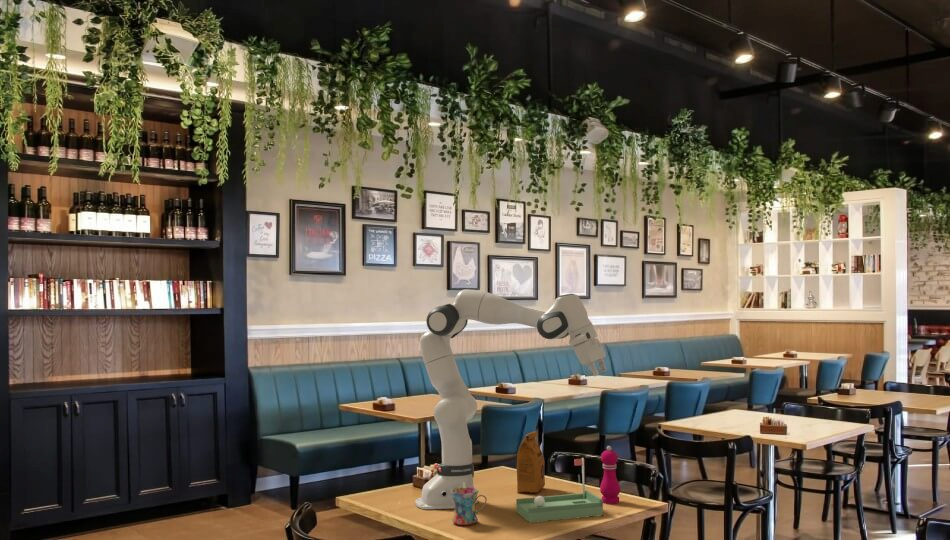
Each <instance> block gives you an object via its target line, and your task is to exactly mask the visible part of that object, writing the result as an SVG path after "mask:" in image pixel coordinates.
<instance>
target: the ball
mask: <svg viewBox="0 0 950 540" xmlns="http://www.w3.org/2000/svg"><path fill="white" fill-rule="evenodd" d="M535 497H536V498H535V499H534V503H535V505H536V506H538V507H542V506H543V505H544V503H545V500H544V498H543V497H544V496H542V495H537V496H535Z"/></svg>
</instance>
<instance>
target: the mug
mask: <svg viewBox="0 0 950 540" xmlns="http://www.w3.org/2000/svg"><path fill="white" fill-rule="evenodd" d="M450 492H451V494H452V497H453V500H454V505H455V508H454V514H453V518H452V519H451V521H452V523H453V524H456V525H459V526H460V525H461V526H469V525H473V524H476V523H477V522H478V520H479V519H478V517H477V516H478V515H479V513H478V512H479V511H480V510H482V509H483V508H484V507H485V506H486V503H487V496H485V495H484V494H480V495H478V493H479V489H477V488H475V487H474V488H468V487H464V488H455V489H452V490H451V491H450ZM480 497H483V498H484V503H483V505H482V506H481V507H480V508H478V509H476V503H475V501H477V502H478V498H480Z"/></svg>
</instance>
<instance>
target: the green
mask: <svg viewBox="0 0 950 540" xmlns="http://www.w3.org/2000/svg"><path fill="white" fill-rule="evenodd" d="M573 462H574V464H573V465H574V466H575V467H576V466H581V474H582V475H581V476H582V477H581V478H582V480H581V481H582V492H581V493H567V494H558V495H547V496H542V497H543V498H544V500H545V503H544V505H543V506H542V507H538V506H536V505H535V503H534V499H535V498H536V497H537V496H534V497H533V496H532V497H525V498H516V513H517V514H518V513H519V514H518V515H520V516H521V517H522V518H523V517H524V518H523V519H524V520H526V521H527V522H528V521H529V522H528V523H530V522H531V523H538V522H537V521H542V522H549V521H548V520H552V521H559V519H563V520H570V519H569V518H573V519H579V518H578V517H584V518H588V517H587V516H594V517H598V516H597V515H603V516H604V512H603V511H604V509H603V504H604V503H603V499H602V497H600V496H597V495H596V494H594V493H592V492H591V491H589V490H587V489H586V488H585V486H586V485H585V459H584V457H581V458H576V459H575V458H574V461H573Z"/></svg>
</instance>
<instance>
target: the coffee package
mask: <svg viewBox="0 0 950 540" xmlns="http://www.w3.org/2000/svg"><path fill="white" fill-rule="evenodd" d="M537 436H538V432H536V431H532V432H529V433H527V434H525V436H524V439H522V441H521V443H520V445H519V448H518V450H517V454H516V455H517V456H516V457H517V458H516V481H517V483H516V484H517V485H516V489H517V490H516V492H517V493H518V494H519V493H520V494H521V493H523V494H524V493H525V494H528V492H529V494H530V493H531V494H534V493H538V492H540V491H542V490H543V489H544V488H545V485H546V476H545V458H544V454H543V451H542V450H541V448H540V446H539V445H538V442H537V439H536V438H535V437H537Z"/></svg>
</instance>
